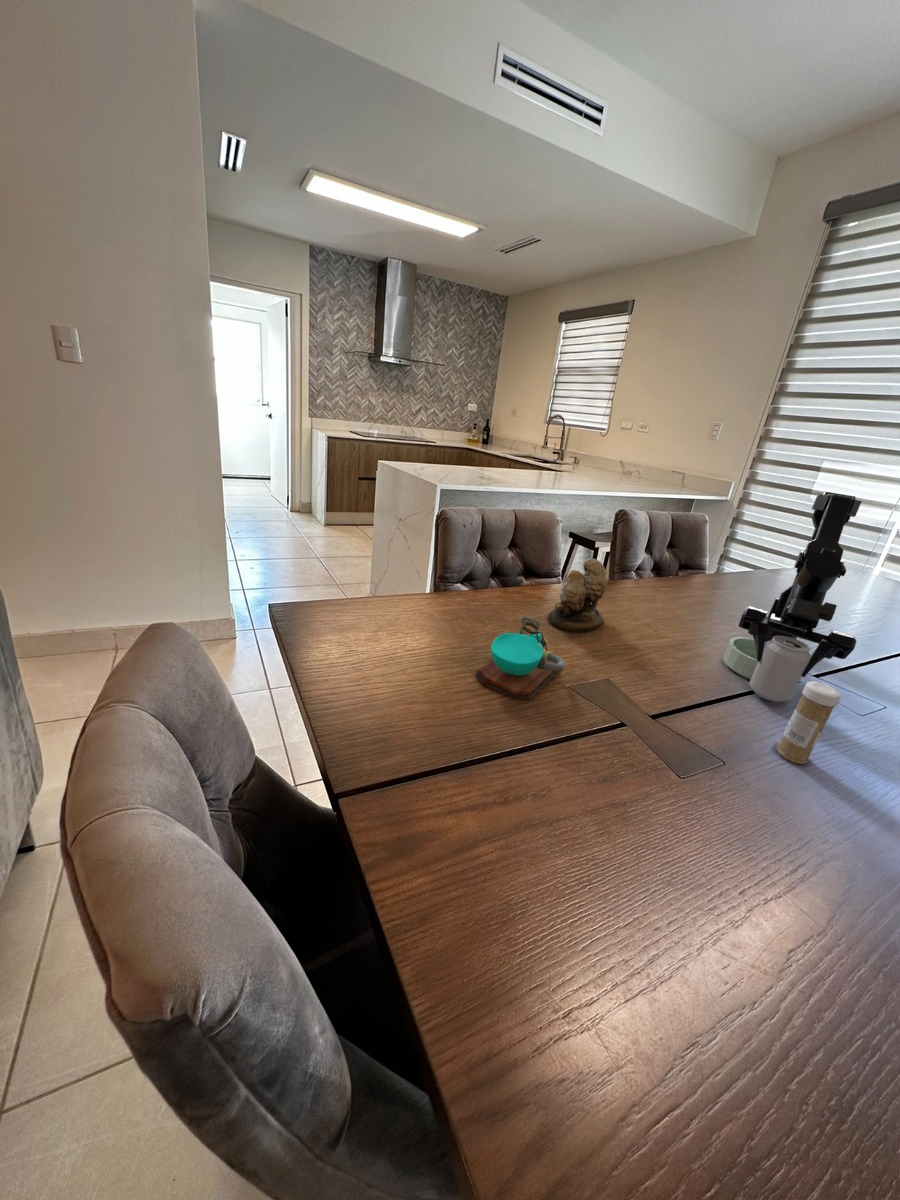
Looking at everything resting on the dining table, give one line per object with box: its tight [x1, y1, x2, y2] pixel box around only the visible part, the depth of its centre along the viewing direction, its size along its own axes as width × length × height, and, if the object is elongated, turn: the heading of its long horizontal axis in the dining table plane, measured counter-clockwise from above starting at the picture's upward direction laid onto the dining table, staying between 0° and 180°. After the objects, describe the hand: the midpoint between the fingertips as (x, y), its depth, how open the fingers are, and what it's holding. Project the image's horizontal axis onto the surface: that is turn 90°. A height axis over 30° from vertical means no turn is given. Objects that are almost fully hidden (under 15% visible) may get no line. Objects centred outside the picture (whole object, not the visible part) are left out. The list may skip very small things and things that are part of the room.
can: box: [748, 636, 812, 703], centre depth 94 cm, size 8×8×12 cm
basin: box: [722, 636, 767, 681], centre depth 106 cm, size 14×14×5 cm
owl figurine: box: [548, 557, 608, 633], centre depth 119 cm, size 18×12×17 cm, turn 136°
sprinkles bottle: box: [776, 681, 841, 765], centre depth 77 cm, size 5×5×14 cm
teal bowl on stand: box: [475, 616, 566, 701], centre depth 91 cm, size 14×18×15 cm
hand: (780, 668), depth 92 cm, fingers closed on can, 7 cm apart
